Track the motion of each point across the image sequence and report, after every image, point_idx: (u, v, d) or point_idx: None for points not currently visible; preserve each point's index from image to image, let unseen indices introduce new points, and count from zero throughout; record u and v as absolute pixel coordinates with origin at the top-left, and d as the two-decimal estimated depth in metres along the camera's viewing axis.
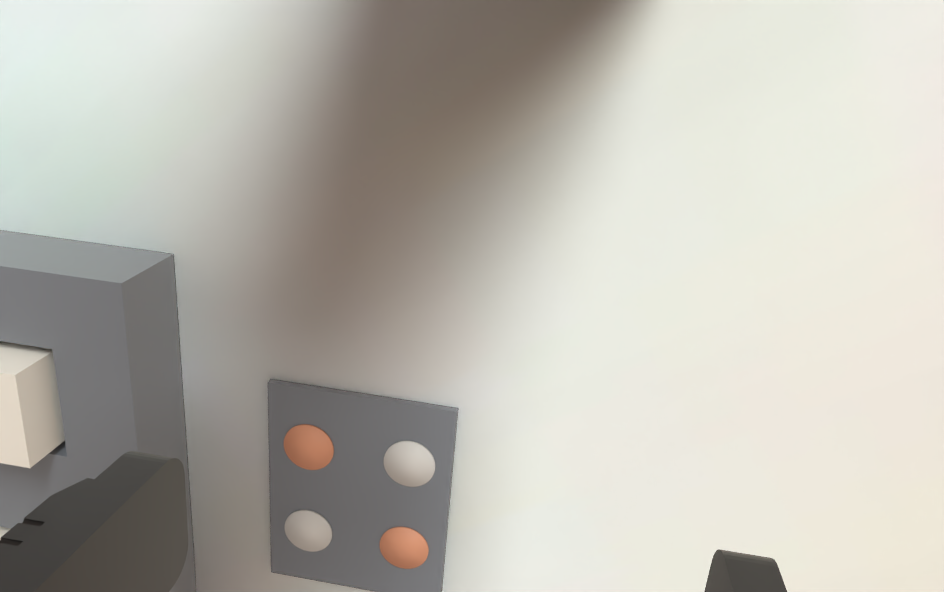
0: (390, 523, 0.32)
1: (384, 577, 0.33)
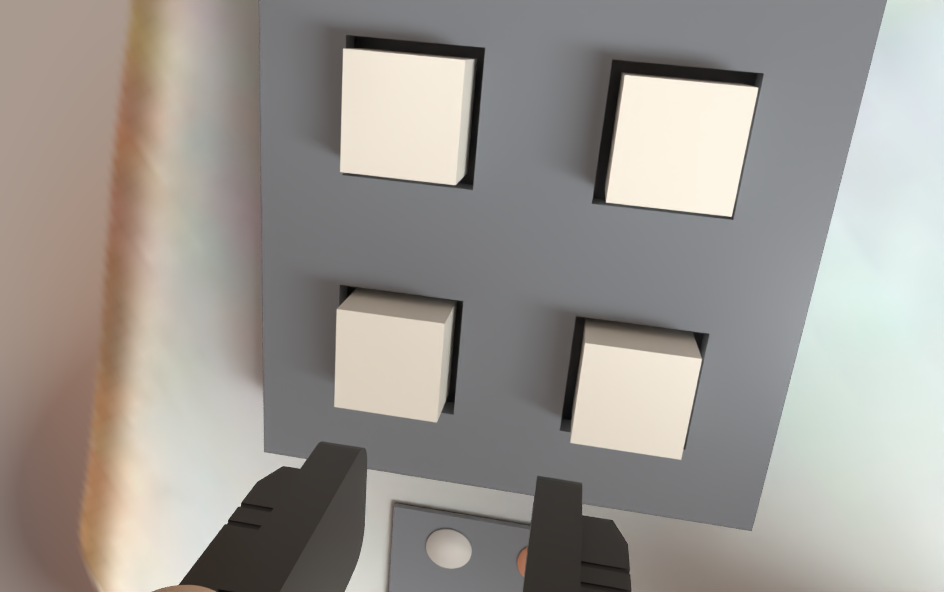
0: None
1: None
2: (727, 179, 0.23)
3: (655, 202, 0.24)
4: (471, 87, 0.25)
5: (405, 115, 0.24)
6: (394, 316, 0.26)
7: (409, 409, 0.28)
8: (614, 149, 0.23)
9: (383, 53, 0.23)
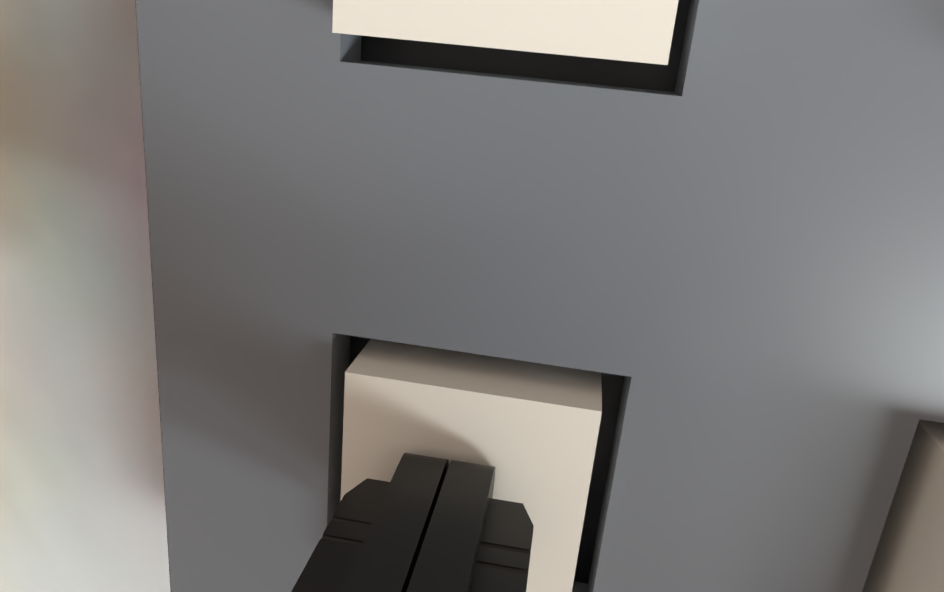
0: None
1: None
2: None
3: None
4: None
5: None
6: (479, 391, 0.11)
7: None
8: None
9: None
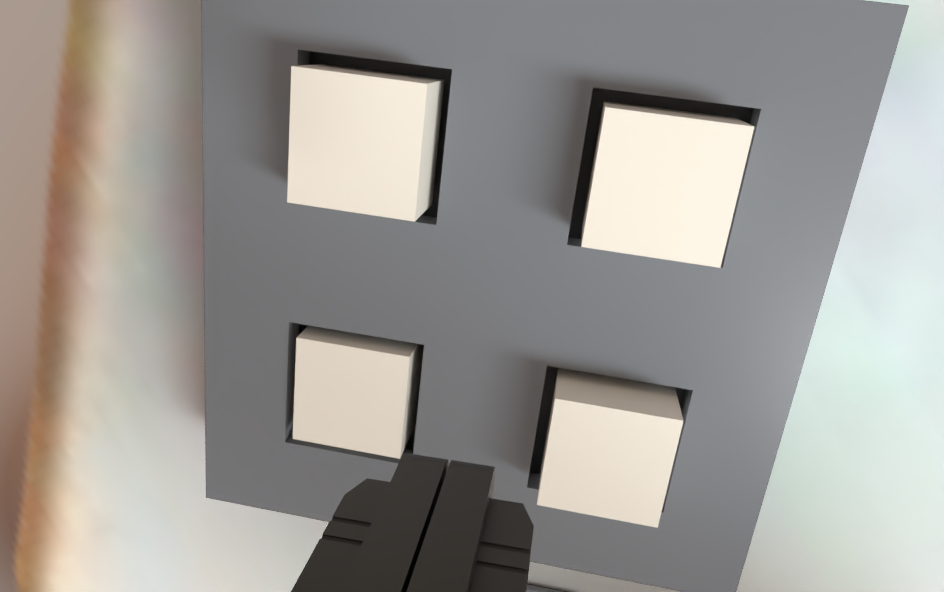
0: None
1: None
2: (716, 226, 0.21)
3: (636, 249, 0.21)
4: (436, 112, 0.23)
5: (360, 142, 0.21)
6: (356, 347, 0.25)
7: (371, 444, 0.26)
8: (592, 188, 0.21)
9: (336, 73, 0.21)
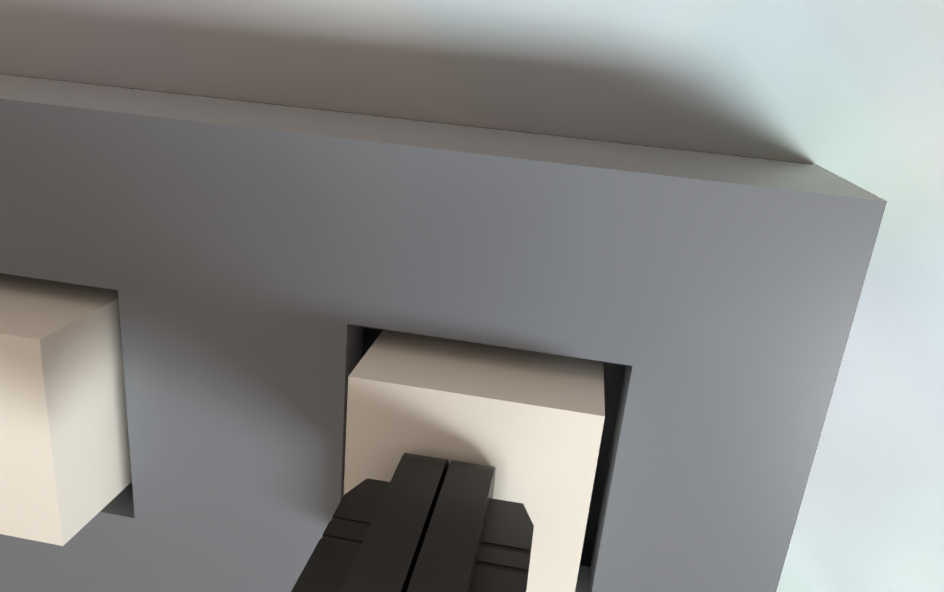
0: None
1: None
2: (556, 566, 0.12)
3: None
4: (113, 348, 0.14)
5: None
6: None
7: None
8: None
9: None
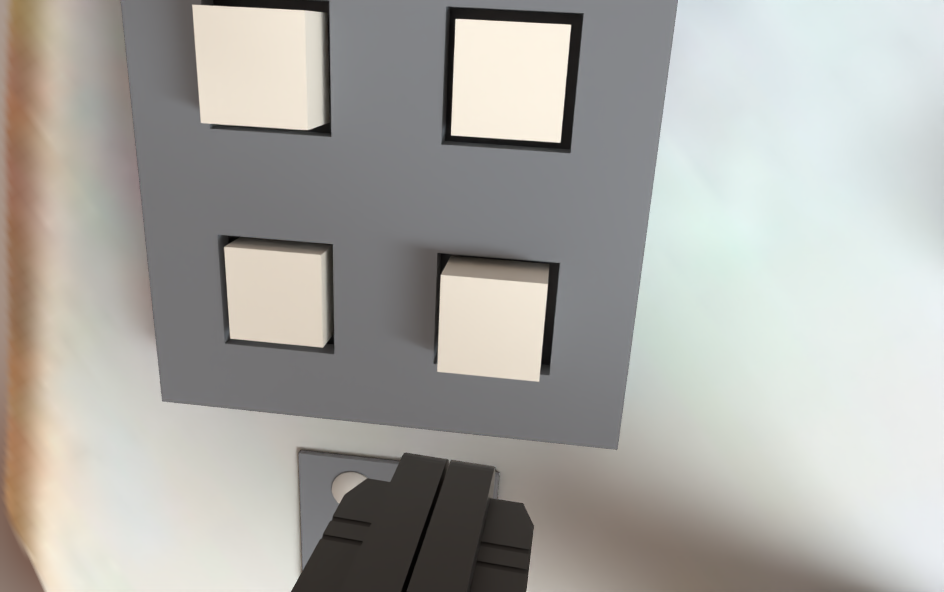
0: None
1: None
2: (553, 109, 0.26)
3: (493, 133, 0.27)
4: (322, 39, 0.27)
5: (255, 65, 0.26)
6: (275, 250, 0.29)
7: (297, 336, 0.30)
8: (453, 86, 0.26)
9: (229, 7, 0.25)
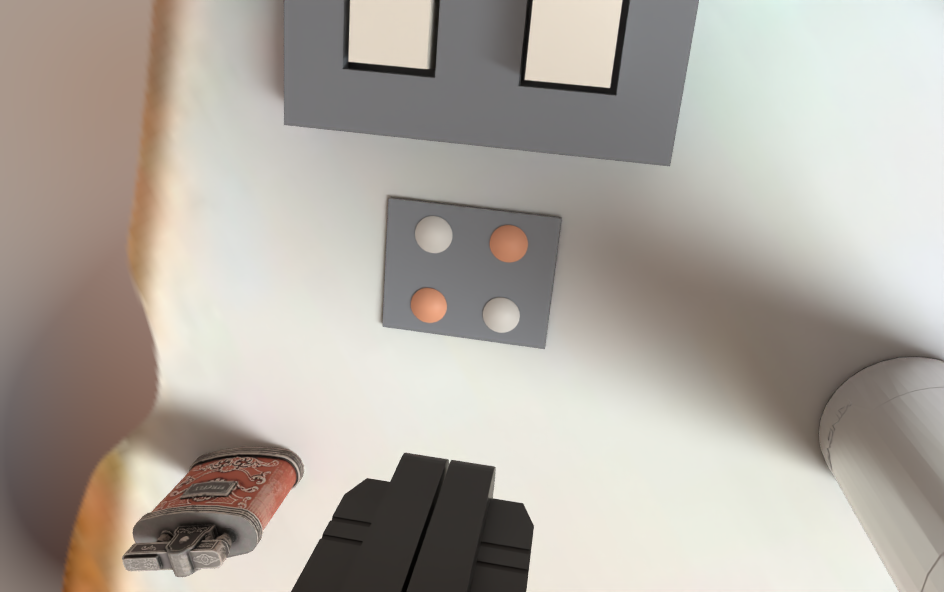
0: (448, 297, 0.44)
1: (399, 288, 0.44)
2: None
3: None
4: None
5: None
6: None
7: (405, 59, 0.36)
8: None
9: None
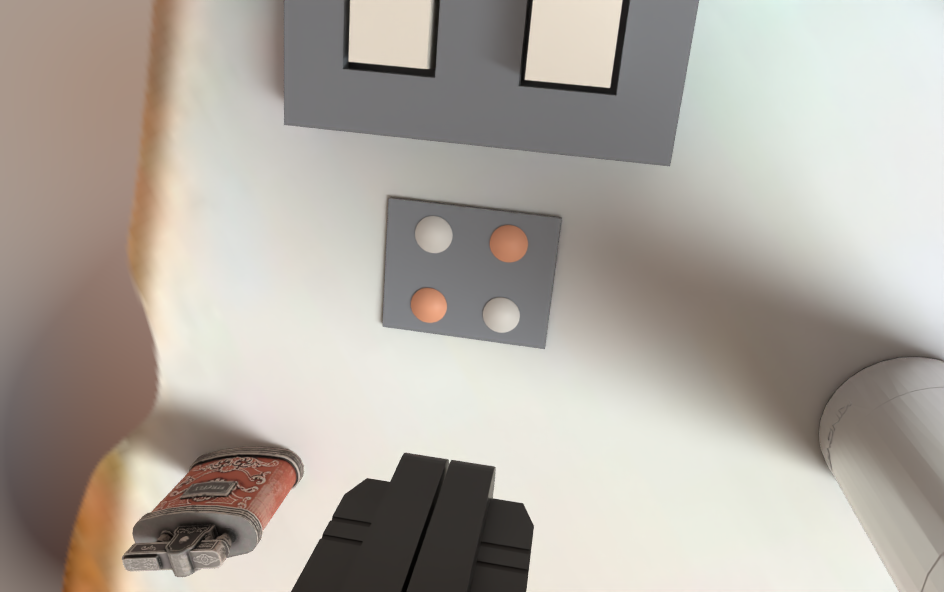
0: (448, 297, 0.44)
1: (399, 288, 0.44)
2: None
3: None
4: None
5: None
6: None
7: (405, 59, 0.36)
8: None
9: None
